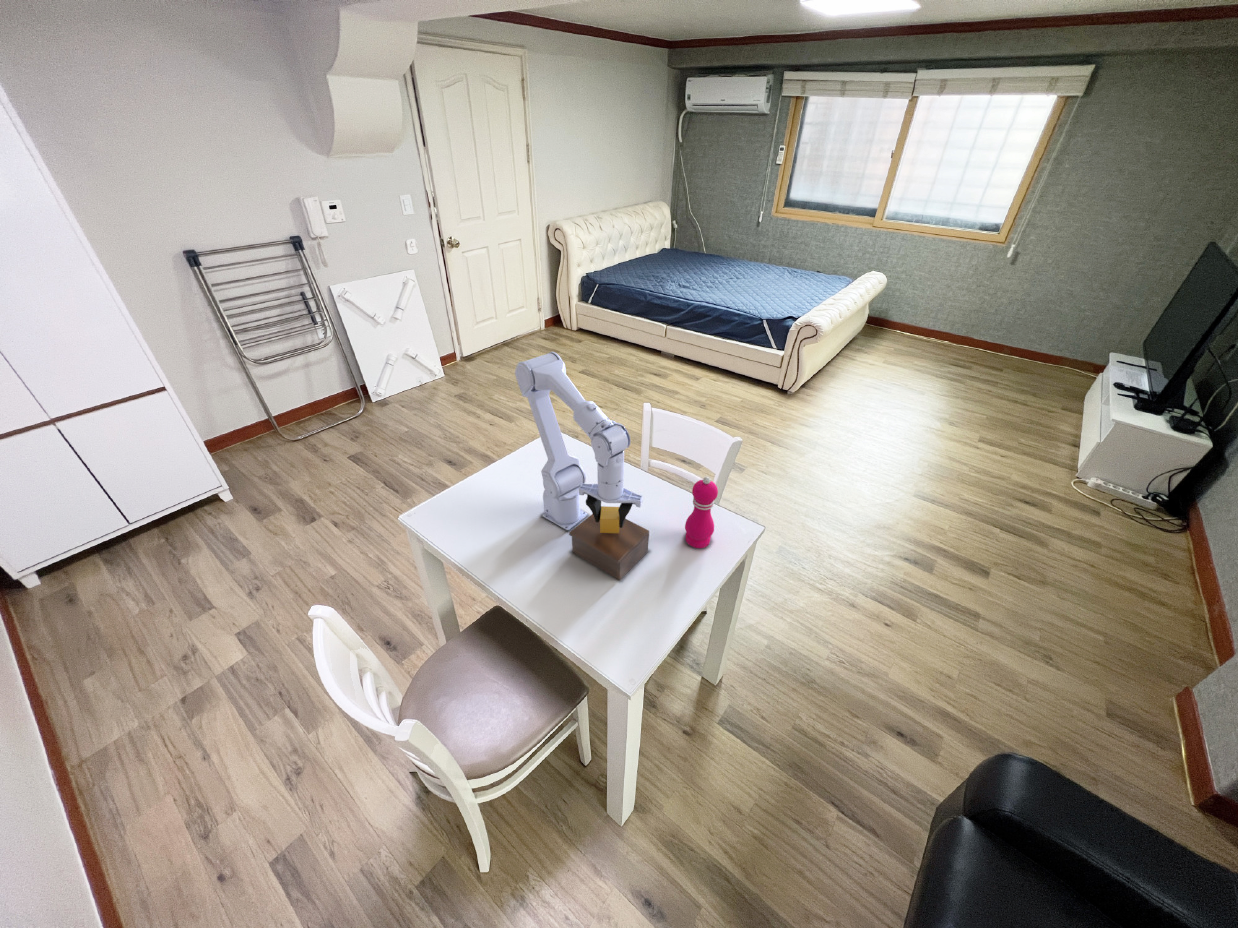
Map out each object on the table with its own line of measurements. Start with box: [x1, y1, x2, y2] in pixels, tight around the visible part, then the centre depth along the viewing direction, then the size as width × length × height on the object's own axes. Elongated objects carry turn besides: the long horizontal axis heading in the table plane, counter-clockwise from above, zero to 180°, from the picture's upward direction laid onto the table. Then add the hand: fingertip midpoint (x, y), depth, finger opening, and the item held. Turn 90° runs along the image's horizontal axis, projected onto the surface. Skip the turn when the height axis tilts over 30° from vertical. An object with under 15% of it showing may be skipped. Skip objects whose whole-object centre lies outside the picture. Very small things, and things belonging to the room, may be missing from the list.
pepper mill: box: [684, 476, 719, 549], centre depth 119 cm, size 7×7×20 cm
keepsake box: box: [571, 533, 650, 581], centre depth 119 cm, size 12×15×6 cm
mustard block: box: [600, 505, 620, 533], centre depth 114 cm, size 4×4×4 cm
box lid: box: [568, 513, 650, 563], centre depth 116 cm, size 12×15×1 cm
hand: (610, 522), depth 115 cm, fingers closed on mustard block, 5 cm apart
